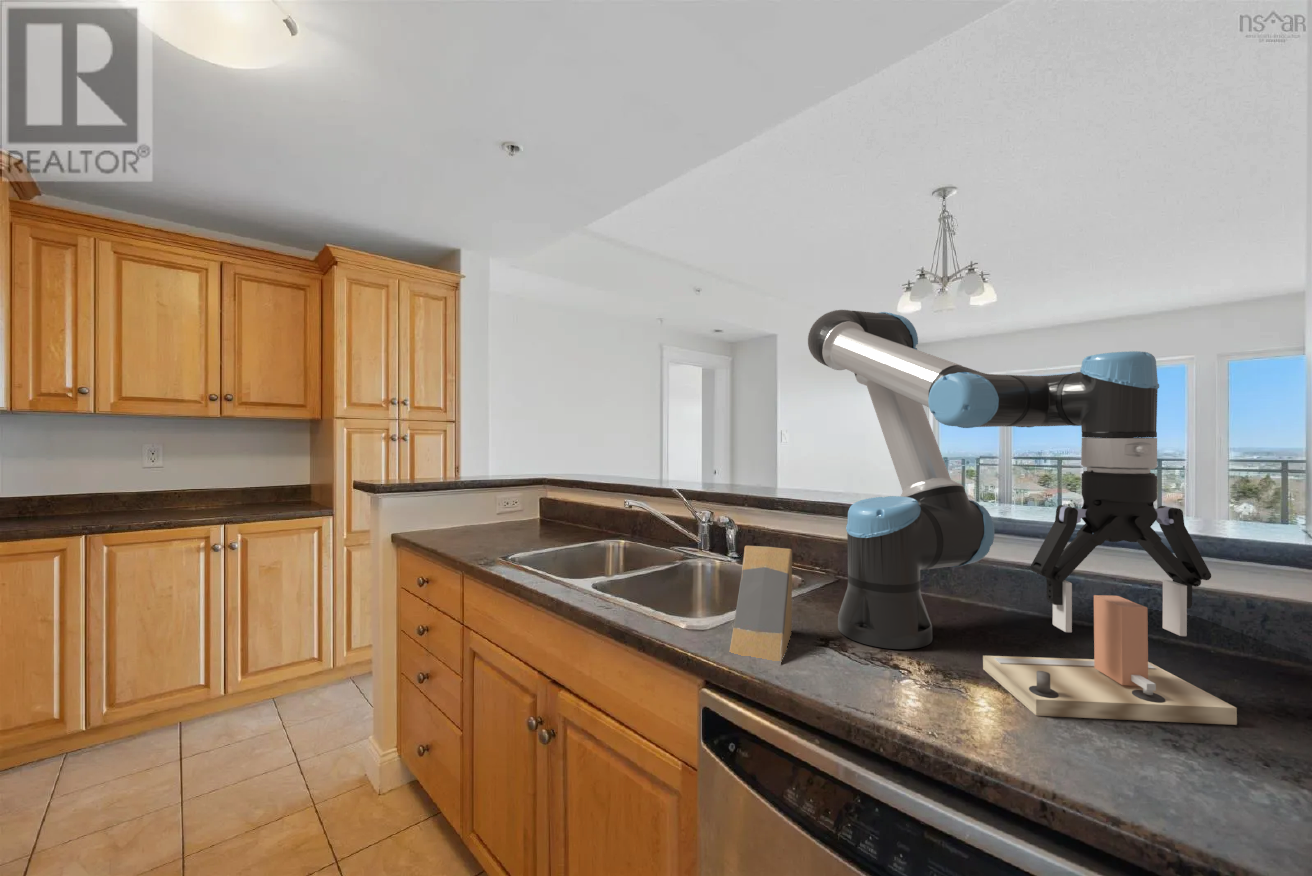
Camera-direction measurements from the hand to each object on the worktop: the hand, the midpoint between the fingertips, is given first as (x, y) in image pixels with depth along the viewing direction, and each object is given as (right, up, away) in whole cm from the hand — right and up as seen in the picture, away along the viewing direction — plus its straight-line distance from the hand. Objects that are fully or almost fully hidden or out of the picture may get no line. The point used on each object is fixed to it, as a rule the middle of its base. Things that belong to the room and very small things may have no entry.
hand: (1117, 630), depth 70 cm
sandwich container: (-44, -9, +18) cm, 48 cm away
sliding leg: (0, -6, -1) cm, 6 cm away
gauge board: (-3, -8, 0) cm, 9 cm away
